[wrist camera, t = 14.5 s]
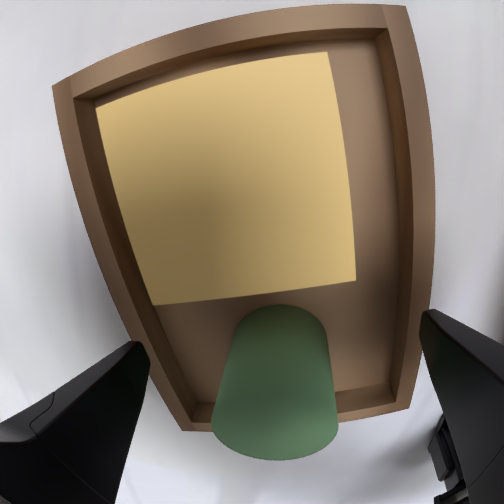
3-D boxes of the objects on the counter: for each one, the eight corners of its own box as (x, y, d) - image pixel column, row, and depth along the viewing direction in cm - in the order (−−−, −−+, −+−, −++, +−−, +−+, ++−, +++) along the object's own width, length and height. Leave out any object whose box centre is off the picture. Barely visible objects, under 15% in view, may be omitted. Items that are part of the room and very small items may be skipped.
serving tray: (384, 22, 10) (405, 5, 7) (398, 379, 17) (408, 408, 15) (83, 87, 12) (51, 85, 9) (190, 402, 19) (182, 430, 17)
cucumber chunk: (298, 287, 14) (301, 372, 9) (342, 355, 15) (356, 440, 10) (214, 329, 15) (185, 411, 10) (265, 387, 17) (255, 468, 12)
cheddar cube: (325, 215, 13) (355, 280, 8) (197, 235, 13) (152, 305, 8) (304, 82, 10) (327, 51, 5) (167, 110, 11) (95, 108, 6)
